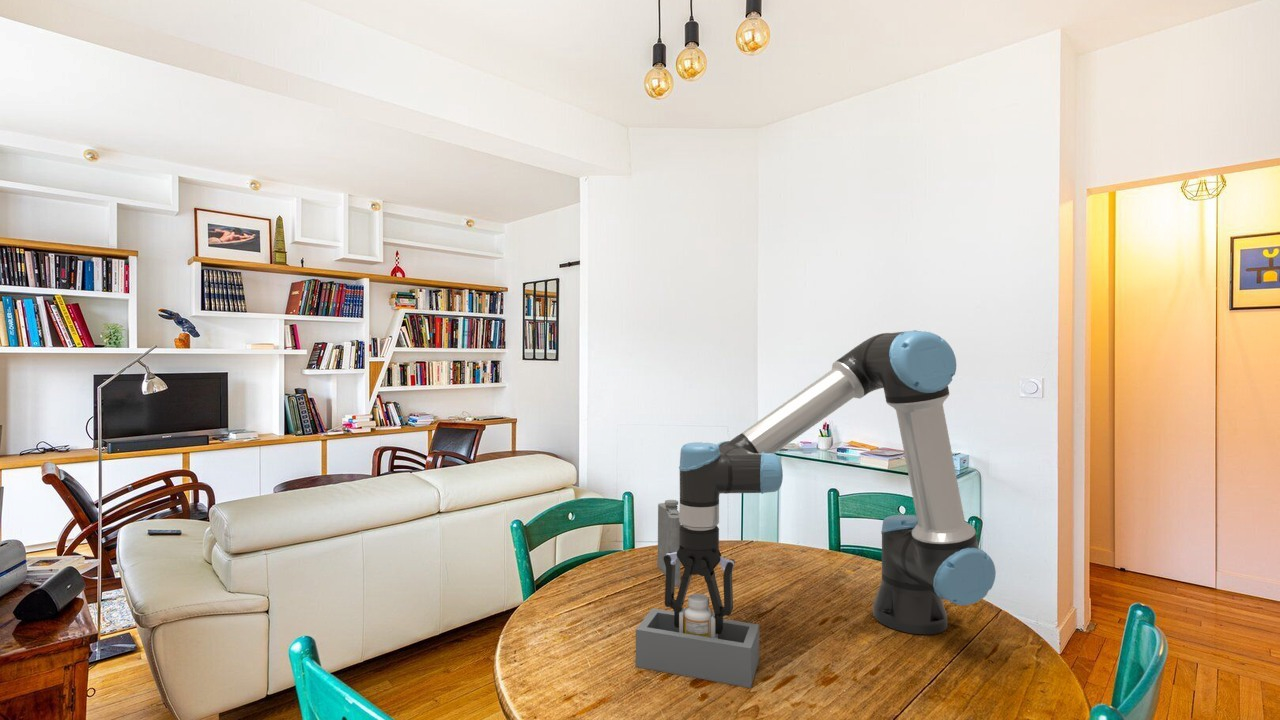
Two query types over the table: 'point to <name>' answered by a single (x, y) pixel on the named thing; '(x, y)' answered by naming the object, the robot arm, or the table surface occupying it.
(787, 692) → the table surface
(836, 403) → the robot arm
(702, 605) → the supplement bottle
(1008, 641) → the table surface
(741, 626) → the tray
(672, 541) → the hip flask
